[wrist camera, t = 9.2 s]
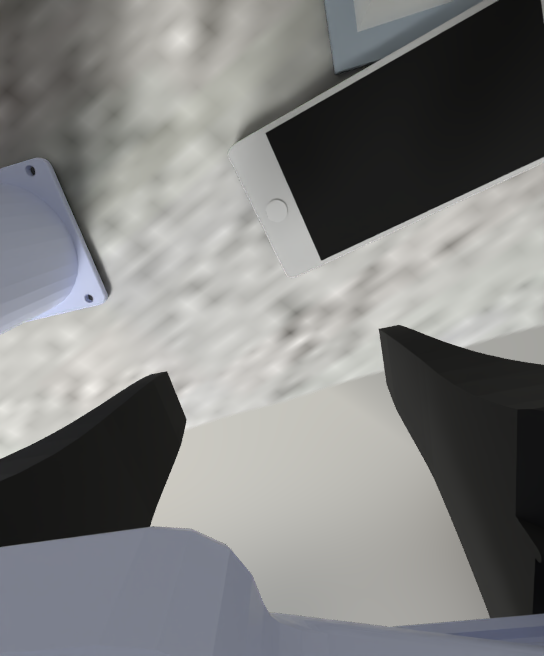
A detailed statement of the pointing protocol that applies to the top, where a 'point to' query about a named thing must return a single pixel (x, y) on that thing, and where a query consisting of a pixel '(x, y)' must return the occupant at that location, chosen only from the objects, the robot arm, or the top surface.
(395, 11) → the charger plug
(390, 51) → the sticky note
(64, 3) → the top surface
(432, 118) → the smartphone
